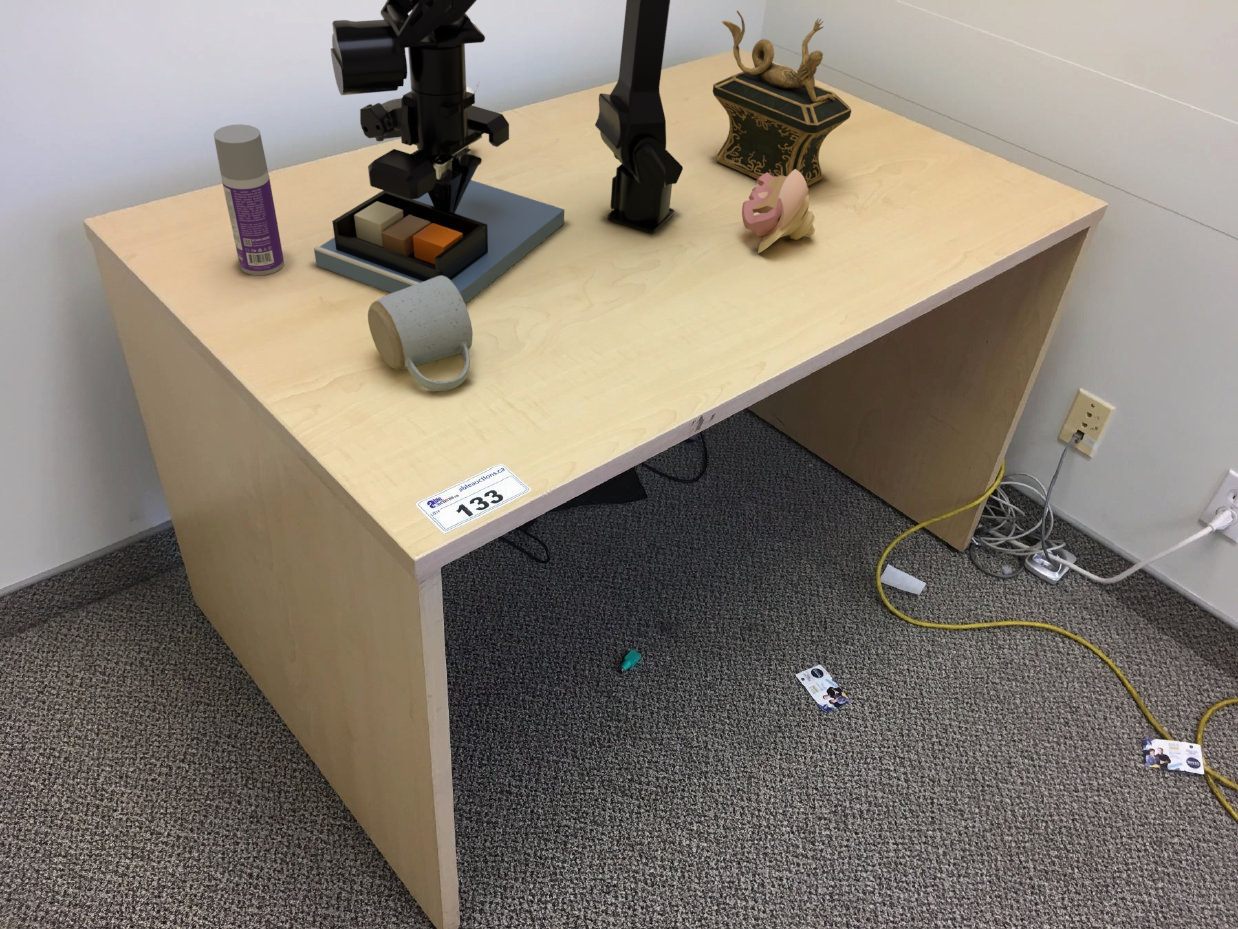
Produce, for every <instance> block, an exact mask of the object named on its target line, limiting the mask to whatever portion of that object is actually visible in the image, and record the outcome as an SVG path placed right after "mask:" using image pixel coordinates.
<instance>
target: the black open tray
mask: <svg viewBox="0 0 1238 929" xmlns="http://www.w3.org/2000/svg"><path fill="white" fill-rule="evenodd" d="M331 222H332V228H333V230H332V231H333V236H334V237H333V238H335V245H336V250H339V251H342V252H344V253H347V254H350V255H353V256H355V257H358V258H361V259H364V260H366V261H369V262H372V263H374V264H377V265H380V266H383V267H385V268H388V269H391V270H394V271H396V272H399V273H402V274H405V275H407V276H410V277H413V278H416V279H418V280H421V281H427V280H429V279H432V278H434V277H437V276H445V277H447V278H448V279H450V280H452V279H453V278H455V277H456V276H457V275H459V274H460V273H461V272H463V271H464V270H465V269H467V268H468V267H469V266H471V265H472V264H473V263H475V262H476V261H477V260H479V259H480V258H481V257H482V256H484V255H485V254H486V253H488V227H487V224H485V223H482V222H479V221H476V220H473V219H470V218H467V217H464V216H461V215H458V214H455V213H452V212H449V211H446V210H443V209H440V208H437V207H434V206H431V205H428V204H425V203H422V202H419V201H416V200H413V199H408V198H405V197H402V196H399V195H396V194H393V193H390V192H387V191H384V190H381V191H380V192H378V193H377V194H375V195H372V196H371V197H370V198H368V199H367V200H365V201H362V202H361V203H360V204H358V205H356V206H354V207H353V208H351V209H350V210H348V211H346V212H345V213H343V214H341V215H339V216H338V217H336V218H335V219H333V220H332V221H331Z"/></svg>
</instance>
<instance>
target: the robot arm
mask: <svg viewBox="0 0 1238 929" xmlns="http://www.w3.org/2000/svg"><path fill="white" fill-rule="evenodd" d="M477 1H478V0H386V2H385V3H384V5H383V7H382V8H381V10H380V16H381V17H382V19H375V20H374V19H373V20H355V21H353V20H349V19H348V20H347V19H342V20H341V19H339V20H338V19H337V20H333V21H332V24H331V25H332V32H333V33H332V35H331V38H332V39H331V44H332V46H331V48H330V56H331V64H332V68H333V74H334V78H335V82H336V86H337V89H338V92H339V94H340V96H350V95H362V94H363V95H364V94H372V93H373V94H374V93H384V92H386V93H387V92H396V91H398V89H399V87H404V84H405V80H407V78H408V67H409V78H410V91H408V92H407V93H404V94H403V95H402V97H400V98H399V97H398V98H394V99H390V100H387V101H385V102H382V103H380V102H377V103H375V104H372V103H371V104H370V103H369V104H367V105H365V106H363V107H362V108H360V109H359V122H360V123H359V124H360V127H361V129H362V132H363V135H364V136H365V137H366V138H368V139H375V141H376V142H383V141H384V140H388V139H395V138H400V139H401V140H400V142H401V144H403V145H406V146H410V147H411V146H413V145H414V146H416V150H414V151H413V152H411V153H409V152H405V151H403V150H399V149H395V148H393V149H391V150H390V151H388V152H386V153H384V154H383V155H381V156H378V158H376V159H374V160H373V161H372V162H370V164H369V165H368V166H367V171H368V179H369V180H368V181H369V185H370V187H372V188H375V189H378V190H381V191H383V190H384V191H387V192H390V193H393V194H396V195H399V196H402V197H405V198H408V199H418V198H420V197H421V196H423V195H425V194H426V193H428V194H429V197H430V199H431V201H432V203H433V205H434V207H437V208H440V209H443V210H446V211H449V212H452V213H455V212H456V209H457V207H458V205H459V203H460V201H461V199H462V196H463V194H464V192H465V190H466V188H467V186H468V184H469V182H470V180H472V179H473V177H474V175H475V172H476V171H477V169H478V166H480V165H481V164H482V163H483V162H482V161H483V160H482V157H480V156H477V155H474V154H472V148H471V149H469V145H471V146H472V144H474V143H475V142H477V141H479V140H481V139H482V137H483V134H485V135H488V143H490V145H492V147H496V148H498V147H500V146H501V145H502V144H504V143H505V142H508V141H509V140H510V123H509V122H508V120H507V119H506V117H505V116H504V115H503V113H499V112H496V111H493V110H489V109H485V108H483V107H479V106H475V105H474V106H472V105H473V104H475V103H476V93H475V94H473V93H470V92H466V86H467V70H466V44H477V43H479V44H481V43H483V42H485V41H486V36H485V35H484V33H483V32H482V31H481V30H480V29H479V27H478V26H477V25H476V24H475V23H473V22H472V20H471V18H470V17H469V16H468V14H467V12H468V11H469V10H470V9H471V7H472V6H473V5H474V4H475V3H476V2H477ZM670 6H671V0H626V2H625V10H624V12H625V14H624V20H623V22H624V23H623V33H622V43H621V53H620V62H619V72H618V78H617V82H616V84H615V86H614V87H613V89H612V91H611V92H610V93H609V94H608V93H599V95H598V116H597V119H596V121H595V123H594V126H595V127H596V129H597V130H598V131H599V133H600V138H601V140H602V142H603V143H604V144H605V145H606V146H607V148H608V149H609V150H610V151H611V152H612V153H613V157H614V158H615V159H616V160H618V161H619V163H621V164H619V165H618V166H617V167H616V172H615V176H614V177H612V179H611V192H610V209H611V211H610V212H609V213H608V214H607V215H606V219H607V220H608V221H611V222H614V223H617V224H621V225H623V226H627V227H630V228H633V229H637V230H639V231H643V232H646V233H649V234H654V233H656V232H657V231H658V230H659V229H660V228H661V227H662V226H663V225H664V224H665V223H666V222H668V220H670V219H671V217H673V216H674V215H675V209H674V208H671V198H672V192H673V191H672V189H673V185H674V184H675V185H677V183H678V181H679V179H680V177H681V174H682V172H683V170H684V167H683V165H682V164H681V163H680V162H679V161H678V160H677V159H676V158H675V157H674V156H673V154H672V153H670V152H669V151H668V150H667V122H666V115H665V112H664V107H663V102H662V98H661V92H660V86H661V85H660V84H661V78H662V77H661V76H662V70H663V69H662V68H663V61H664V60H663V59H664V54H665V46H666V37H667V29H668V23H669V22H668V21H669V14H670ZM406 48H407V52H408V62H407V55H406ZM408 65H409V66H408Z"/></svg>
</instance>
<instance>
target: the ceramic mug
mask: <svg viewBox="0 0 1238 929" xmlns="http://www.w3.org/2000/svg"><path fill="white" fill-rule="evenodd" d="M367 322H368V327H369V331H370V334H371V339H372V340H373V343H374V346H375V348H376V350H377V352H378V353H379V355H380V357H381V358H382V360H383V362H384V363H385V364H386V365H388V367H390V368H392V369H394V370H406V369H407V370H408V373H409V375H410V376H411V377H412V378H413V380H415V382H416V383H417V384H419V385H420V386H421V387H423V388H424V389H427V390H429V391H435V392H448V391H451V390H453V389H456V388H458V387H460V386H461V385H462V384H464V382H465V381H466V379H467V377H468V374H469V370H470V367H471V365H470V364H471V359H470V358H471V356H470V353H469V350H470V349H471V347H472V345H473V336H474V334H473V326H472V320H471V317H470V314H469V311H468V307H467V305H466V304H465V303H464V300H463V299H462V297H461V294H460V293H459V291H458V289H457V288H456V286H455V285H454V284H453V283H452V281H451V280H450V279H448V278H447V277H445V276H437V277H434V278H432V279H429V280H427V281H424V282H421V283H418V284H415V285H413V286H410V287H407V288H405V289H402V290H399V291H396V292H394V293H389V294H386V295H384V296H382V297H380V298H378V299H376V300H375V301H373V302H371V304H370V305H369V308H368V311H367ZM459 354H461V356H462V359H463V364H464V366H463V369H462V370H461V373H460V374H459V375H458V376H457V377H456V378H454V379H452V380H451V379H450V380H444V381H443V380H434V379H430V378H427V377H426V376H424V375H423V374H422V373H421V372H420V371H419V369H418V368H417V367H418V366H422V365H425V364H428V363H431V362H435V361H438V360H442V359H446V358H449V357H453V356H455V355H459Z"/></svg>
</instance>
